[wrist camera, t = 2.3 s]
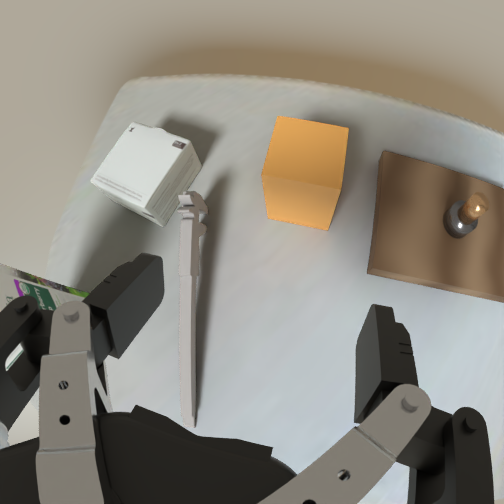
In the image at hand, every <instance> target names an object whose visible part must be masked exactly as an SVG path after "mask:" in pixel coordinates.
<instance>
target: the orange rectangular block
mask: <svg viewBox="0 0 504 504" xmlns="http://www.w3.org/2000/svg"><path fill="white" fill-rule="evenodd" d="M348 131H349V128H345V127H341V126H336V125H330V124H325V123H320V122H314V121H308V120H302V119H296V118H289V117H283V116H277V120H276V123H275V127H274V131H273V134H272V138H271V141H270V145H269V149H268V152H267V156H266V160H265V163H264V167H263V170H262V174H261V176H262V182H263V189H264V195H265V202H266V208H267V215H268V219H273V220H278V221H283V222H288V223H293V224H298V225H303V226H308V227H313V228H318V229H322V230H327V231H328V228H329V226H330V223H331V220H332V216H333V213H334V210H335V207H336V204H337V201H338V198H339V195H340V192H341V187H342V180H343V172H344V165H345V157H346V149H347V140H348Z"/></svg>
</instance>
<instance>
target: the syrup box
mask: <svg viewBox="0 0 504 504" xmlns="http://www.w3.org/2000/svg"><path fill="white" fill-rule="evenodd" d="M89 294H90V293H87V292H83V291H80V290H77V289H74V288H71V287H67V286H64V285H61V284H58V283H55V282H52V281H49V280H46V279H43V278H40V277H37V276H34V275H31V274H28V273H25V272H22V271H20V270H17V269H14V268H12V267H9V266H6V265H3V264H1V263H0V312H1V311H2V310H3V309H4V308H5V307H6V306H7V305H8V304H9V303H10V302H11V301H12V300H14V299H15V298H17V297H20V296H25V295H28V296H33V297H34V298H36V300H37V302H38V305H39V308H40V309H47V310H56V308H57V307H59V306H60V305H62V304H63V303H66V302H69V301H81V302H82V301H83V300H84V299H85V298H86V297H87V296H88V295H89ZM22 352H23V349H22V347H21V344H19V345H18V346H17V347H16V348H15V350H14V351H13V352H12V353H11V354H10V355H9V357H8V358H7V360H6V363H5V367H6V371H7V370H8V369H9V368H10V367H11V365H12V364H13V363H14V362H15V361H16V359H17V358H18V357H19V356H20V355H21V353H22Z"/></svg>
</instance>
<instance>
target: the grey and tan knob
mask: <svg viewBox="0 0 504 504" xmlns="http://www.w3.org/2000/svg"><path fill="white" fill-rule="evenodd" d="M488 209H489V201H488V199H487V197H486V196H485V195H484V194H483V193H481V192H476V193H474V194H473V195H472V196H471V197H470V198H469V199H468V200H467V201H463V200H459V201H457V202H455V203H454V204H453V205H452V206H451V207H450V208H449V209H448V210H447V211H446V212H445V214H444V216H443V225H444V228H445V230H446V231H447V233H448V234H449V235H450V236H452V237H453V238H456V239H461V238H463V237H465V236H466V235H467V234H469V233H470V232H472V231H473V230H474V229H475V228H476V227H477V224H478V218H479V217H480V216H481V215H483V214H484V213H485V212H486V211H488Z"/></svg>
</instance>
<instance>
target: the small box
mask: <svg viewBox="0 0 504 504" xmlns="http://www.w3.org/2000/svg"><path fill="white" fill-rule="evenodd" d="M201 168H202V165H201V163H200V161H199V158H198V156H197V154H196V152H195V150H194V147H193V145H192V143H191V141H190V140H188V139H186V138H183V137H180V136H177V135H174V134H171V133H168V132H166V131H165V130H163V129H162V128H153V127H150V126H147V125H143V124H140V123H137V122H132V123H131V124H130V126H129V127H128V128H127V129H126V131H125V132H124V133H123V134H122V136H121V137H120V138H119V140H118V141H117V143H116V144H115V146H114V147H113V148H112V150H111V151H110V153H109V154H108V155H107V157H106V158H105V160H104V161H103V163H102V164H101V166H100V167H99V168H98V170H97V171H96V173H95V174H94V176H93V177H92V179H91V182H92V183H93V184H94V185H95V186H96V187H97V188H99V189H100V190H101V191H102V192H103V193H104V194H105V195H106V196H107V197H109V198H110V199H111V200H112V201H114V202H116V203H118V204H120V205H122V206H124V207H126V208H128V209H130V210H131V211H133V212H135V213H137V214H139V215H141V216H143V217H145V218H147V219H149V220H150V221H152V222H154V223H156V224H158V225H159V226H161V227H165V225H166V223H167V222H168V220H169V218H170V217H171V215H172V213H173V212H174V210H175V208H176V207H177V205H178V204H179V202H180V201H179V198H178V195H183V192H186V191H187V189H188V188H189V186H190V185H191V183H192V181H193V180H194V178H195V177H196V175H197V174H198V172H199V171H200V169H201Z"/></svg>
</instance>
